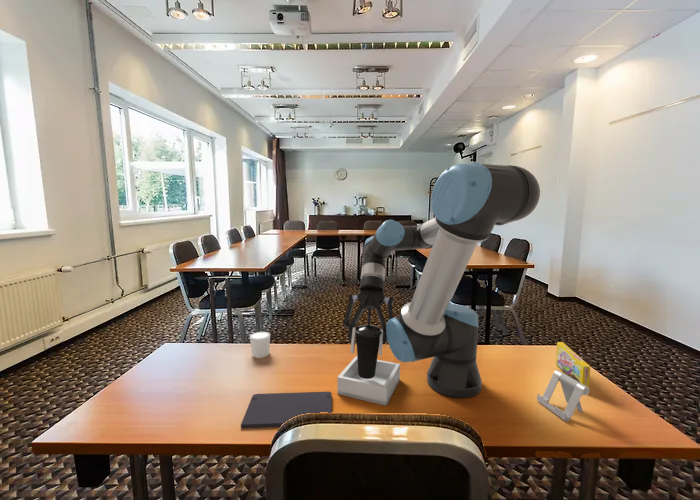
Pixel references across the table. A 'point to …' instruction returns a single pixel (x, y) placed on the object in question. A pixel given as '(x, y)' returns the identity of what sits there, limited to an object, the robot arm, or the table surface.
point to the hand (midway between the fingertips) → (366, 352)
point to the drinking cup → (367, 348)
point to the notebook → (284, 407)
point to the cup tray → (369, 382)
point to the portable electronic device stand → (571, 393)
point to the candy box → (572, 364)
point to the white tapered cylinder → (260, 344)
